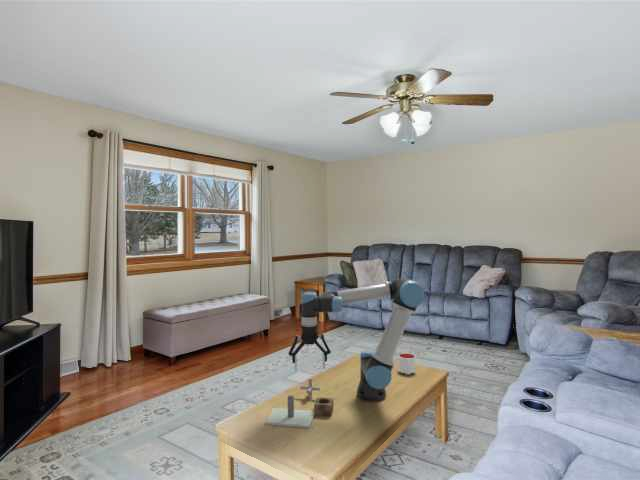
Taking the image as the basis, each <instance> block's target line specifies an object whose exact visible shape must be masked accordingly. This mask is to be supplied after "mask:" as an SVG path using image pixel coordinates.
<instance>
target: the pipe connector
mask: <svg viewBox="0 0 640 480" xmlns="http://www.w3.org/2000/svg"><path fill="white" fill-rule="evenodd" d="M300 390H306V392H305V393H306V394H307V395H308V399H313V391H318V392H320V391H321V387H320V386H315V383H314V382H313V377H308V385H302V384H301V385H300Z"/></svg>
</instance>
